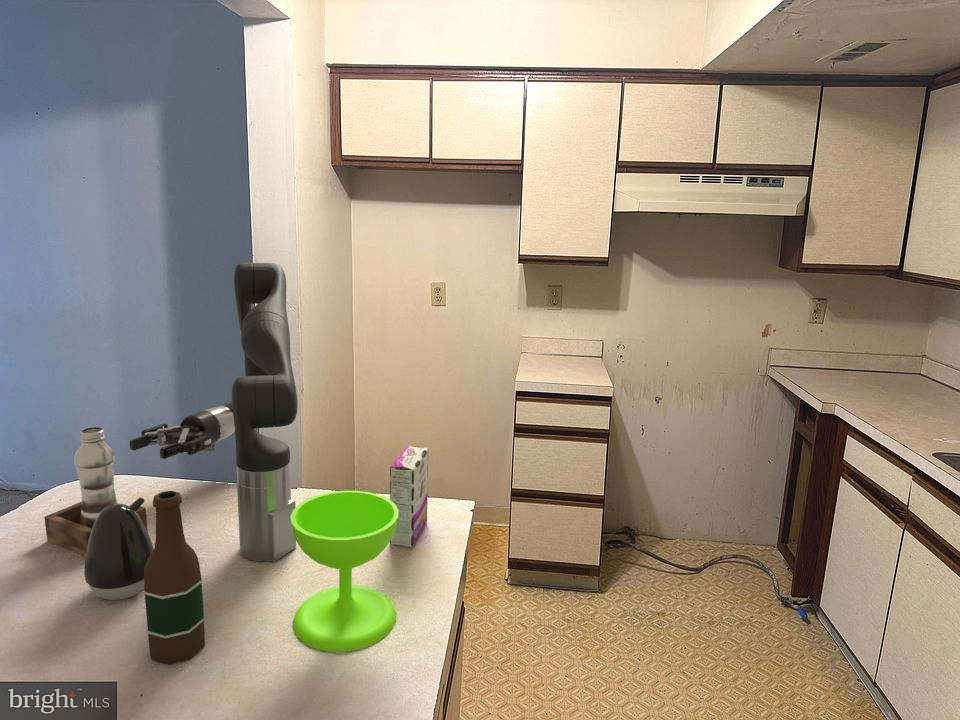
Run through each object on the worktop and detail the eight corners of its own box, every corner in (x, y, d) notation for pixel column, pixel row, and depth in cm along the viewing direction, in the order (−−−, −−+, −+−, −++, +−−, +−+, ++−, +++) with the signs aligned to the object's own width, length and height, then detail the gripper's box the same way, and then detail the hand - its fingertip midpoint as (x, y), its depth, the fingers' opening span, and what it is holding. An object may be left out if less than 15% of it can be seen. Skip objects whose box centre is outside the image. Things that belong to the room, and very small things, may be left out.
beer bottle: (160, 630, 97) (148, 482, 91) (214, 630, 98) (205, 482, 92) (138, 667, 89) (124, 507, 84) (196, 666, 90) (186, 508, 84)
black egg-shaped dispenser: (172, 580, 109) (166, 497, 106) (121, 615, 100) (112, 526, 96) (126, 567, 113) (118, 486, 109) (71, 600, 103) (61, 512, 99)
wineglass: (309, 585, 110) (308, 487, 106) (403, 591, 110) (405, 493, 105) (278, 648, 94) (274, 536, 90) (387, 655, 94) (389, 543, 90)
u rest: (147, 531, 125) (145, 507, 123) (92, 558, 115) (90, 533, 113) (103, 516, 129) (101, 493, 128) (47, 541, 119) (44, 516, 118)
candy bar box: (404, 518, 135) (405, 444, 131) (427, 521, 134) (430, 447, 130) (387, 545, 124) (389, 465, 120) (413, 549, 123) (415, 468, 119)
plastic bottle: (104, 540, 119) (94, 438, 114) (73, 535, 120) (61, 433, 115) (130, 524, 125) (121, 426, 120) (99, 519, 126) (89, 422, 121)
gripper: (184, 405, 145) (119, 425, 131) (233, 416, 140) (170, 438, 125) (186, 436, 147) (122, 460, 133) (234, 448, 142) (173, 474, 127)
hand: (145, 449), depth 129 cm, fingers open, 8 cm apart
